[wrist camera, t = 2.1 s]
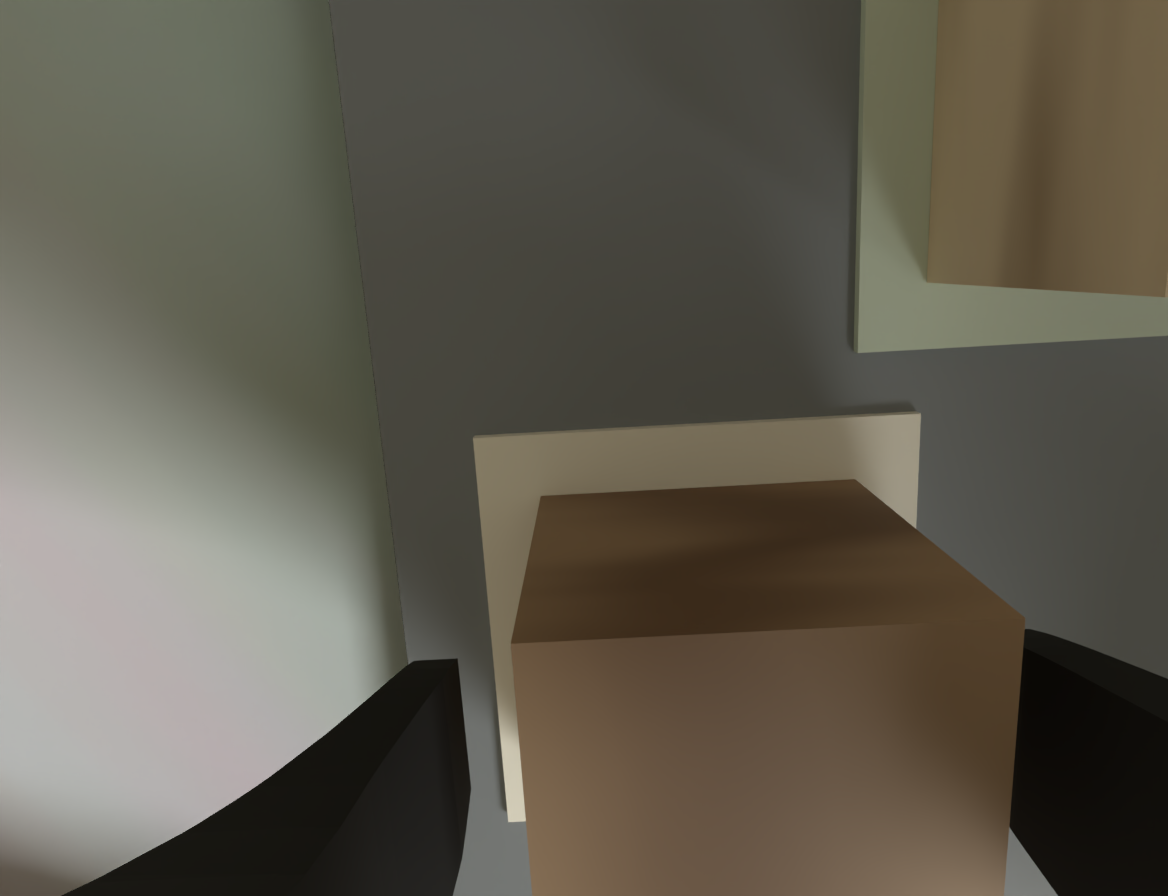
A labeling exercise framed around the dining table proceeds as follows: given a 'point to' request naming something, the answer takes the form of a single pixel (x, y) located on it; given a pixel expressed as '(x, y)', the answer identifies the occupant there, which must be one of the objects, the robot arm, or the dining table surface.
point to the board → (713, 323)
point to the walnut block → (760, 698)
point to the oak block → (1051, 146)
